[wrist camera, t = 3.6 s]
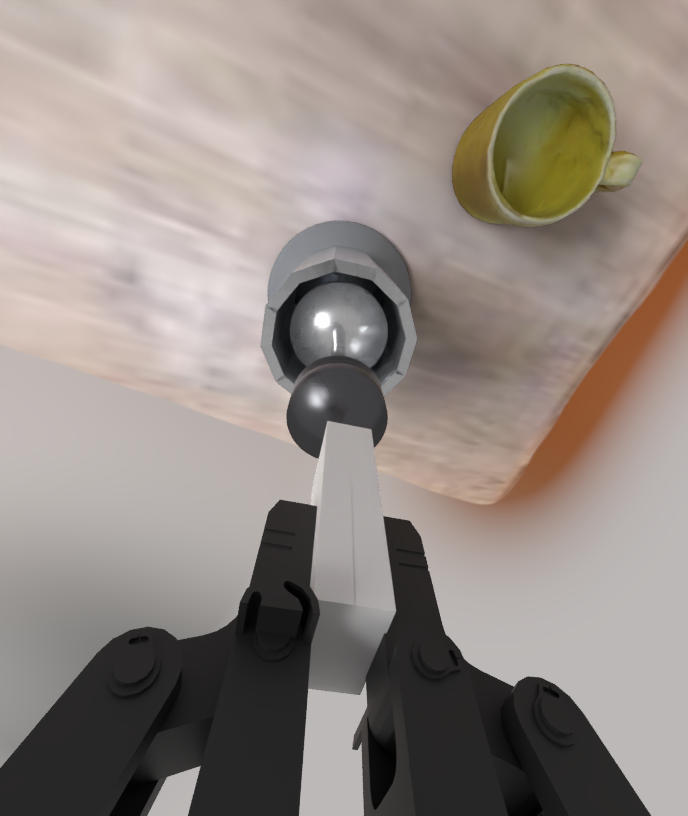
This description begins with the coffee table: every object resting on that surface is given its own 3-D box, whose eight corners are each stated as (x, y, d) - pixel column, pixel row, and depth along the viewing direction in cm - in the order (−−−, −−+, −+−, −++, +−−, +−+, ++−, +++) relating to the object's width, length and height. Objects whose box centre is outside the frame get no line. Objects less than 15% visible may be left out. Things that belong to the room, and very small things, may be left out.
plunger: (299, 270, 25) (262, 317, 13) (397, 293, 26) (447, 357, 14) (284, 364, 28) (242, 473, 16) (373, 382, 29) (395, 499, 17)
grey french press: (298, 234, 34) (273, 243, 22) (401, 259, 35) (435, 282, 23) (278, 365, 40) (249, 431, 27) (368, 383, 41) (380, 455, 28)
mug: (415, 219, 33) (491, 178, 23) (455, 94, 31) (553, -1, 22) (520, 271, 37) (621, 254, 27) (559, 163, 35) (679, 108, 26)
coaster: (279, 203, 34) (278, 203, 33) (429, 240, 35) (430, 241, 34) (260, 351, 40) (259, 352, 39) (388, 377, 41) (389, 379, 41)
